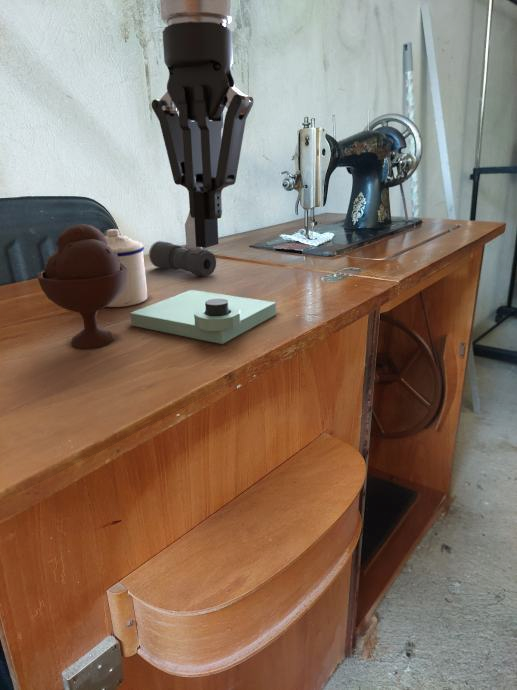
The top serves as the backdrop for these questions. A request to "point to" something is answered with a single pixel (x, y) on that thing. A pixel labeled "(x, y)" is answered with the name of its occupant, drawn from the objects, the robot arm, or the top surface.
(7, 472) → the top surface
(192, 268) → the flashlight
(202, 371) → the top surface
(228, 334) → the scale
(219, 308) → the tare button
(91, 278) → the ice cream bowl
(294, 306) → the top surface
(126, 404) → the top surface
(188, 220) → the white pointed block
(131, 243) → the teacup with lid
